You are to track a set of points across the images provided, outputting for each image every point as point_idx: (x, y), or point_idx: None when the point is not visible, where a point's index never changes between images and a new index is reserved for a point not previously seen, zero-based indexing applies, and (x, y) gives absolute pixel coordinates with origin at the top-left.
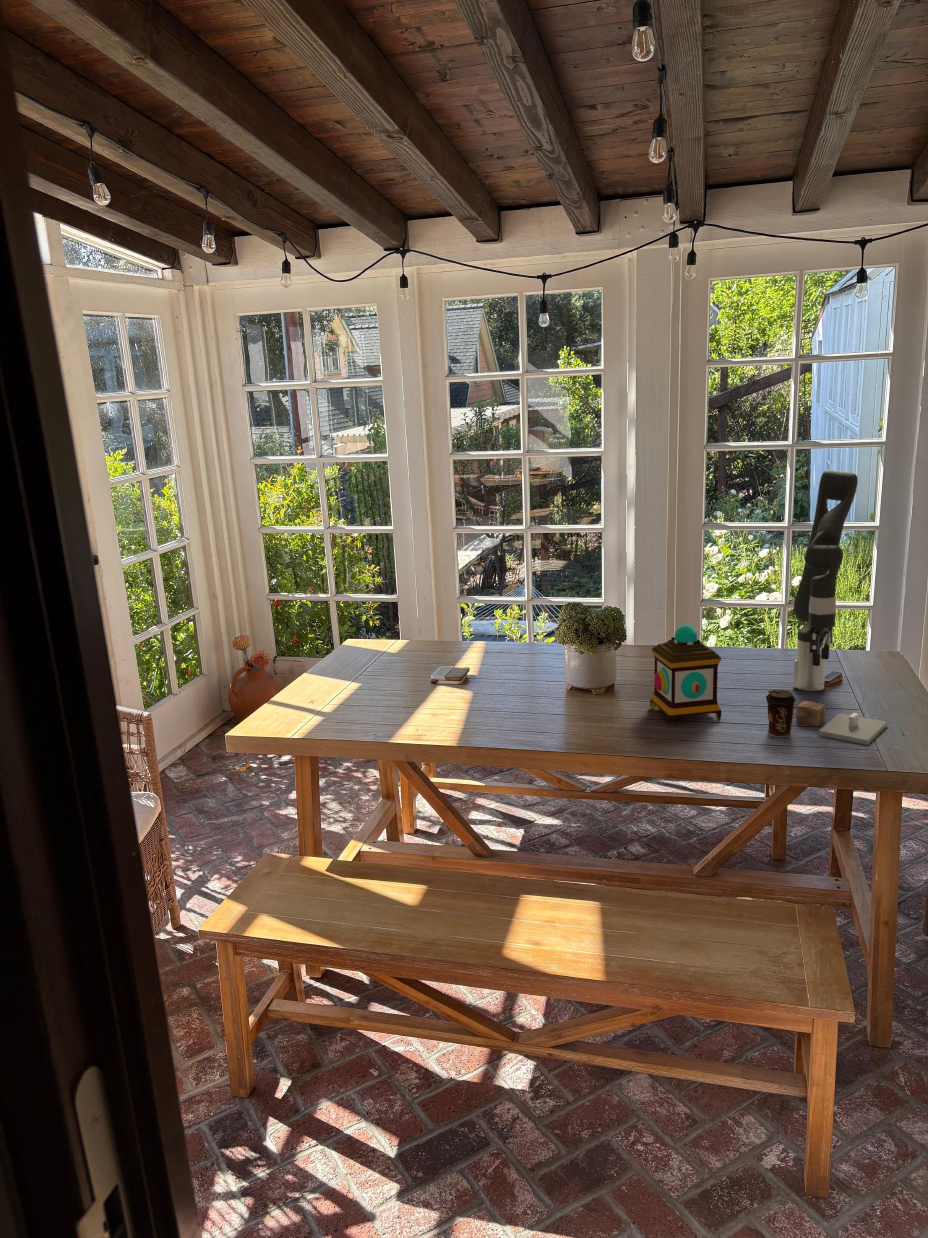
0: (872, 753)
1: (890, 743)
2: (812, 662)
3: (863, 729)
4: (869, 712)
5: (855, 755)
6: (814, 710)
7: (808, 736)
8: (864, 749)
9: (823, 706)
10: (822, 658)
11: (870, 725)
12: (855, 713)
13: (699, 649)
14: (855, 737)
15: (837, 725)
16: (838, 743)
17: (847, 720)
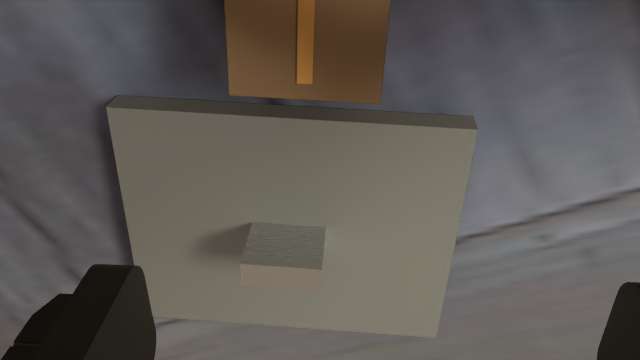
0: None
1: (231, 356)
2: (76, 296)
3: None
4: (634, 227)
5: (7, 283)
6: (229, 61)
7: (64, 52)
8: None
9: (333, 99)
10: (621, 298)
11: (344, 294)
12: (316, 279)
13: None
14: None
15: (251, 171)
16: (84, 202)
17: (363, 195)
